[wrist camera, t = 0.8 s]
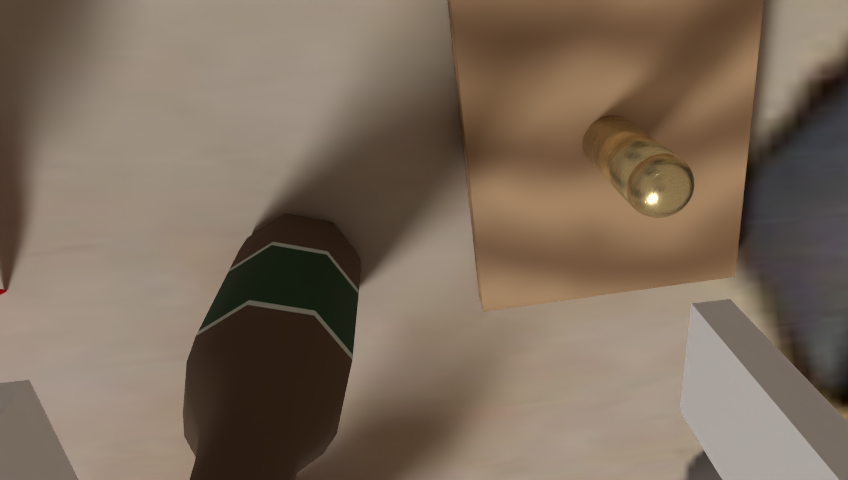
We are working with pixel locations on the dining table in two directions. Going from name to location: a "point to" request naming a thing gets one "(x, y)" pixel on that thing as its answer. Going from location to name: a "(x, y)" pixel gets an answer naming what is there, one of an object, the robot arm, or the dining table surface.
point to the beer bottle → (273, 354)
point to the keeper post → (638, 167)
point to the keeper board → (567, 124)
